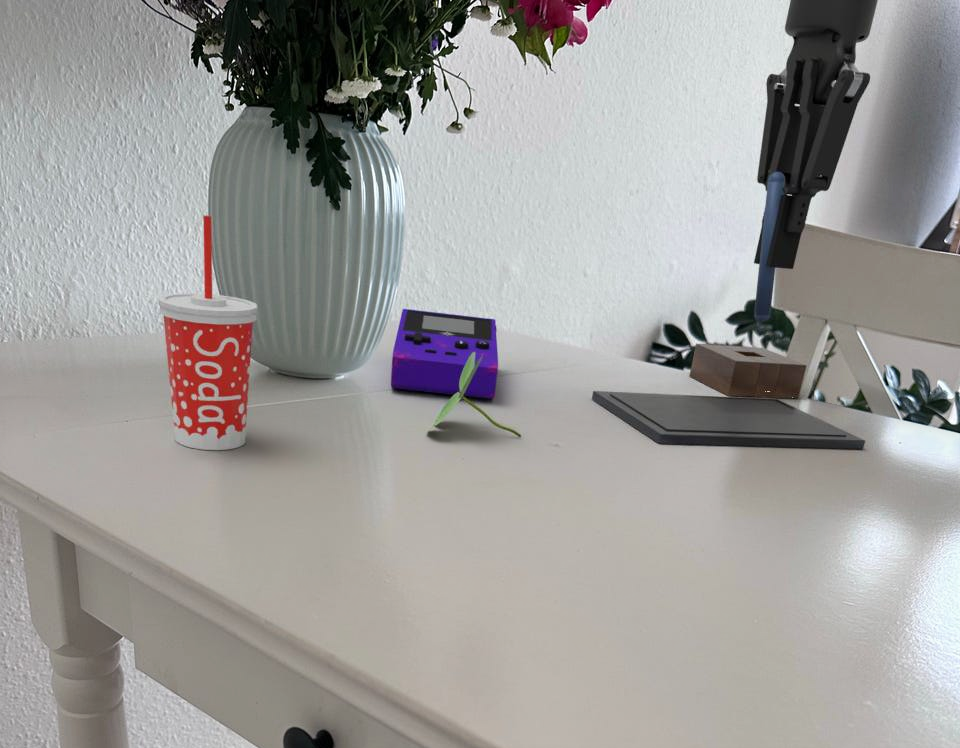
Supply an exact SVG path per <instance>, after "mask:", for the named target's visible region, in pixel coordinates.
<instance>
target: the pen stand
mask: <svg viewBox="0 0 960 748" xmlns="http://www.w3.org/2000/svg"><path fill="white" fill-rule="evenodd" d="M807 367H808V366H807V364H805V363H802V362H799V361H797V360H795V359H792V358H789V357H787V356H785V355H782V354H779V353H777V352H775V351H772V350H769V349H767V348H765V347H756V346H755V347H753V346H742V345H741V346H740V345H739V346H738V345H725V344H723V345H722V344H708V343H695V348H694V353H693V358H692V362H691V366H690V371H689V375H688V376H689V378H692V379H694V380H696V381H698V382H700V383H701V384H704V385H706V386H708V387H710V388H712V389H714V390H716V391H718V392H720V393H722V394H723V395H726V396H727V397H742V396H744V397H743V398H763V397H767V398H766V399H785V398H792V397H793V398H798V399H799V397H800V392H801V389H802V385H803V382H804V377H805V374H806V370H807ZM765 391H766V392H765ZM767 391H770V392H767ZM745 396H746V397H745ZM747 396H749V397H747Z"/></svg>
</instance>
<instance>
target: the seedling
mask: <svg viewBox="0 0 960 748" xmlns="http://www.w3.org/2000/svg"><path fill="white" fill-rule="evenodd" d="M481 359H482V356H481V357H480V359H479V360H478V362H477V363H476V365H475V352H473V353H472V354H471V355H470V357H469V358H468V360H467V362H466V364H465V366H464V369H463V371H462V374H461V377H460V381H459V389H460V393H459V392H457V393H456V394H454V395H452V396H451V397H450V399H449V400H448V401H447V402H446V403H445V404H444V406H443V407H442V409H441V410H440V412H439V414H438V416H437V417H436V419H435V421H434V423H433V425H432V426H431V427H430V428H429V429H428V431H431V430H432V429H433V428H434V427H435V426H437V425H438V424H440V422H441V421H443V419H445V418H446V416H447V415H448V414H449V413H450V412H451V411H452V409H453V408H454V407H455V406H456V405H457V403H459V401H460V400H461V399H462V400H463V401H464V402H465V403H468V405H470V406H471V407H472V408H473V409H475V410H476V411H478V412H479V413H481V415H483V416H484V417H485V418H486V419H487V420H488V421H489V422H490V423H491V424H492V425H494V426H496V427H497V428H499V429H502V430H505V431H508V432H510V433H512V434H514V435H515V436H516V437H518V438H521V437H522V435H521V433H519V432H518V431H516V430H514V429H512V428H509V427H507V426H504V425H502V424H499V423H498V422H496V421H495V420H494V419H492V418H491V417H490V416H489V415H488V414H487V413H486V412H485V411H484V410H483V409H481V408H480V407H479V406H477V405H476V404H474V403H473V402H472V401H471V400H469V399H468V398H467V397H466V396H463V395H464V393H465V391H466V389H467V387H468V385H469V383H470V381H471V379H472V377H473V375H474V373H475V371H476V369H477V368H478V366H479V364H480V361H481ZM474 365H475V367H474Z"/></svg>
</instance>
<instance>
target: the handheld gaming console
mask: <svg viewBox="0 0 960 748" xmlns="http://www.w3.org/2000/svg"><path fill="white" fill-rule="evenodd" d="M496 324H497V322H496V319H495V318H487V317H478V316H470V315H461V314H454V313H453V314H452V313H444V312H435V311H428V310H427V311H426V310H418V309H408V308H402V311H401V315H400V320H399V324H398V327H397V332H396V337H395V341H394V345H393V350H392V356H391V358H392V360H391V361H392V362H391V371H390V372H391V373H390V388H392V389H397V390H408V391H414V392H415V391H416V392H425V393H426V392H427V393H433V394H434V393H435V394H442V395H443V394H444V395H452V396H453V395H454V394H456V393H457V392H459V393H460V389H459V381H460V377H461V374H462V371H463V369H464V366H465V364H466V362H467V360H468V358H469V357H470V355H471V354H472V353H473V352H475V365H476V363H477V362H478V360H479V359H480V357H481V356H482V359H481V361H480V364H479V366H478V368H477V369H476V371H475V373H474V375H473V377H472V379H471V381H470V383H469V385H468V387H467V389H466V391H465V393H464V395H463V396H464V397H470V398H480V399H490V400H494V399H495V395H496V388H497V380H498V379H497V378H498V371H499V356H498V355H499V353H498V340H497V337H498V336H497V325H496ZM475 365H474V367H475Z"/></svg>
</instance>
